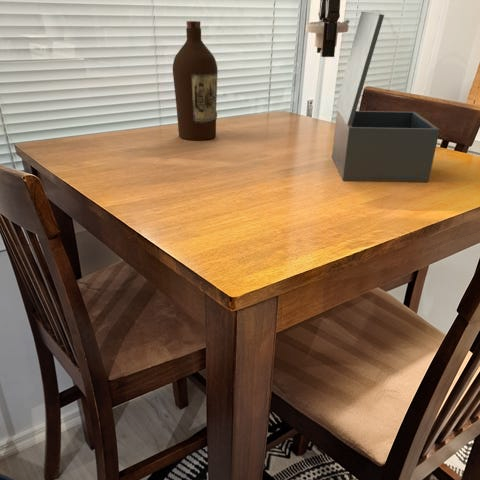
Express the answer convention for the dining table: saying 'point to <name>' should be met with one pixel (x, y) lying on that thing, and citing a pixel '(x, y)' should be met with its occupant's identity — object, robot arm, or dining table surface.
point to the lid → (358, 64)
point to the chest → (384, 147)
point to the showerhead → (319, 29)
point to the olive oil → (195, 87)
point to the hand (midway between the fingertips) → (325, 54)
